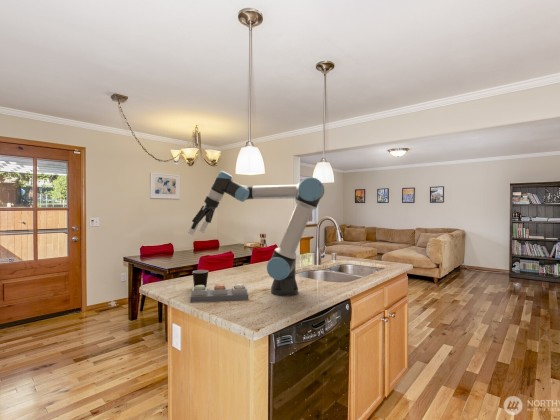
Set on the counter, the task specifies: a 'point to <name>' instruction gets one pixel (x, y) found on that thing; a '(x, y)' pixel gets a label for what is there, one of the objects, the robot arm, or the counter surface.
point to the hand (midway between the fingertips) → (196, 233)
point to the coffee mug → (200, 277)
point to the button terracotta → (219, 287)
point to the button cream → (239, 286)
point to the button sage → (199, 287)
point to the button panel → (219, 294)
